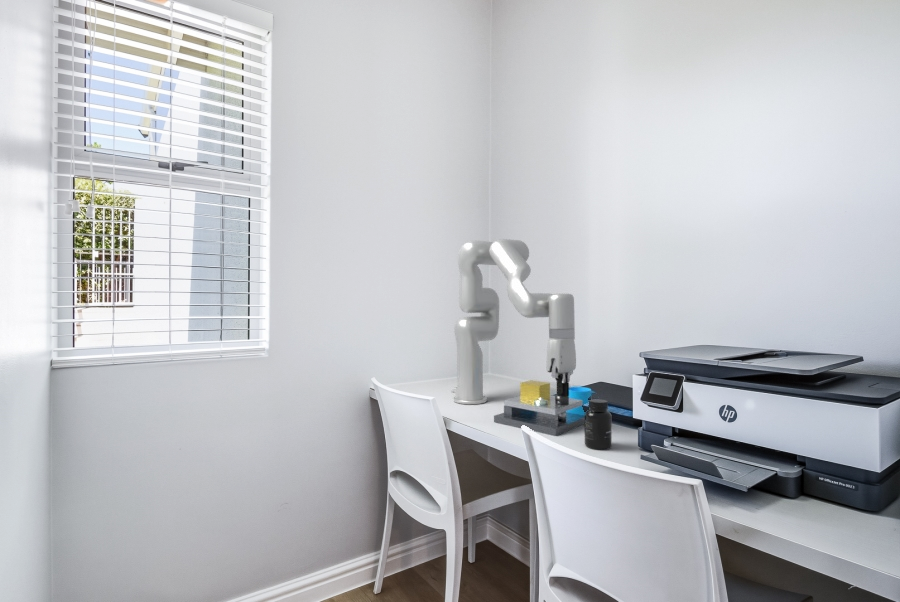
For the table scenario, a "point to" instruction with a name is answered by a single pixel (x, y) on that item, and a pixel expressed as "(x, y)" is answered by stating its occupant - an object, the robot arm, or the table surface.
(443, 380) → the table surface
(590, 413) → the supplement bottle
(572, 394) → the mug
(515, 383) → the table surface
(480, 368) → the robot arm
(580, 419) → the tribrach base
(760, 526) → the table surface
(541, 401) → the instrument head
